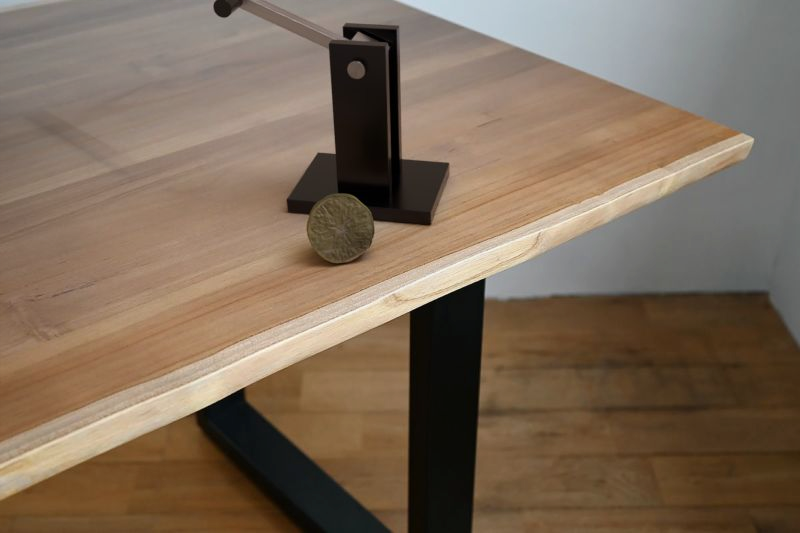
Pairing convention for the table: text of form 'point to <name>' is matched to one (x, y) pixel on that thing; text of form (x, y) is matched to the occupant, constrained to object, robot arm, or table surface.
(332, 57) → the bracket
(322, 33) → the lever
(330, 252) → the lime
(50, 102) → the table surface
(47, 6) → the table surface
